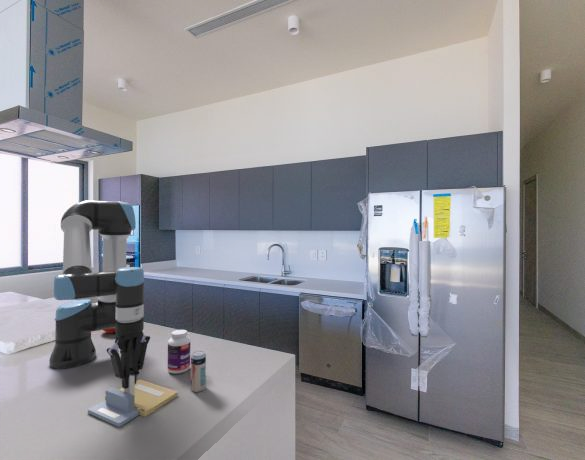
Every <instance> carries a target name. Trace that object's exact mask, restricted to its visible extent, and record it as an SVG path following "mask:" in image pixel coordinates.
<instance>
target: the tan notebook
mask: <svg viewBox="0 0 585 460" xmlns="http://www.w3.org/2000/svg"><path fill="white" fill-rule="evenodd" d="M118 390H121V391H124V388H122V387H120V389H118ZM178 396H179V394H178V391H177V390H173V389H171V388H168V387H164V386H160V385H158V384H156V383H152V382H149V381H146V380H144V379H137V382H136V384H135V410H137V411H139V415H140V416H142V417H144V418H145V417H147V416H149V415H150V414H152V413H153V412H155V411H156V410H157V409H159V408H161V407H162V406H165V404H167V403H168V402H170V401H171V400H173V399H175V398H176V397H178ZM105 400H106V395H105V396H104V401H105ZM139 415H138V416H139Z"/></svg>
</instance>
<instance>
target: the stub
mask: <svg viewBox="0 0 585 460" xmlns="http://www.w3.org/2000/svg"><path fill="white" fill-rule="evenodd" d="M105 396H106V400H105V399H104V400H103V401H101V402H99V403H97V404H95V405H93V406H91V407H89V408H87V414H89V415H91V416H94V417H96V418H99V419H100V420H103V421H104V422H107V423H108V424H111V425H113V426H116V427H118V428H121V427H122V426H124V425H125V424H127V423H128V422H130V421H131V420H133V419H135V418H136V417H138V416H139V411H137V410H135V396H134V395H132V394H129V393H126V392H124V391H121V390H119V389H118V388H115V387H110V388H108V389H106V390H105Z"/></svg>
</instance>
